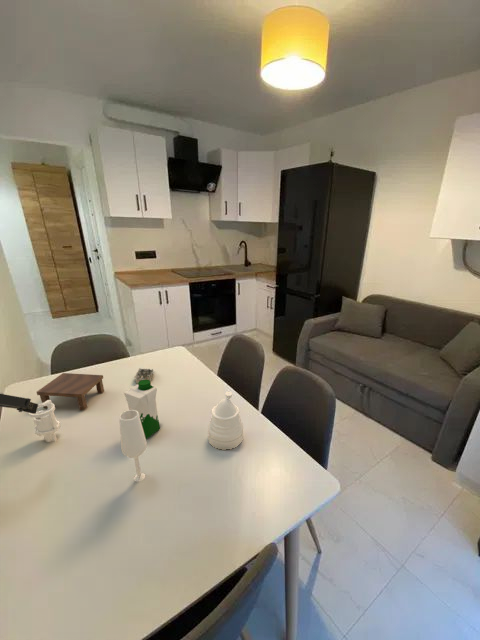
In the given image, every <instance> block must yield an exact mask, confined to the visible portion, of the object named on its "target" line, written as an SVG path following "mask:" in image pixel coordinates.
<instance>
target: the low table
mask: <svg viewBox="0 0 480 640" xmlns="http://www.w3.org/2000/svg"><path fill="white" fill-rule="evenodd" d="M103 379H104V375H103V374H88V373H72V372H71V373H70V372H69V373H68V372H62V373H61V374H59V375H57V376H56V378H54V379H52V380H51V381H50V382H48V383H47V384H45V385H44V386H43V387H41V388H39V390H37V391H36V395H37V396H39V397H40V401H41V403H44V402H46V401H47V400H51V399H50V397H62V398H63V397H64V398H76V399H77V404H78V409H79V411H86V410H87V409H88V407H89V406H88V403H87V400H86V394H88V393H89V392H90V391H91V390H92V389H93V388H94V387H95V388H96V392H97V394H103V393H104V392H105V387H104V383H103ZM42 408H43V409H48V407H47V406H43V407H42Z"/></svg>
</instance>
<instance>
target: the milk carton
mask: <svg viewBox="0 0 480 640" xmlns="http://www.w3.org/2000/svg"><path fill="white" fill-rule="evenodd" d="M157 389H158V387H156V386H153V385H152V382H151V383H150V380H141V381H139V382H138V384H136V385H134V386H132V387H129V389H128V390H126V391H124V392H123V395H124V396H125V401H126V403H127V406H128V410H136V411H138V413H139V417H140V420H141V424H142V427H143V431H144V435H145V438H146V440H148V439H149V438H150V437H151V436H153V435H154V434H155V433H157V432H158V431H159V430H161V426H160V425H161V424H160V421H159V415H158V407H157V405H158V404H157Z"/></svg>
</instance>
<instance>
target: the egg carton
mask: <svg viewBox="0 0 480 640" xmlns="http://www.w3.org/2000/svg"><path fill="white" fill-rule="evenodd" d="M153 377H154V369H153V368H152V369H151V368H141V367H140V368H138V370H137V372H136V374H135V375H134V381H135V383H136V385H138V382H139V381H141V380H150V383H151V384H152V380H153Z"/></svg>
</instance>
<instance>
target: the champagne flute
mask: <svg viewBox="0 0 480 640" xmlns="http://www.w3.org/2000/svg"><path fill="white" fill-rule="evenodd" d="M118 418H119V434H120V448H121V453H122V454H123V455H124V456H125V457H127V458H132V459H134V465H135V471H136V475H134V477H133V480H134V481H135V482H142V481H143V480H144V479H146V474H145V473H143V472H142V470H141V463H140V458H139V457H140V456H142V455H143V454H144V452H145V451H146V450H147V447H148V441H147V439H146V438H145V435H144V431H143V427H142V424H141V420H140V417H139V413H138V411H136V410H129V409H127V410H125V411H123V412H121V413H120V414H119V417H118Z"/></svg>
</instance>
